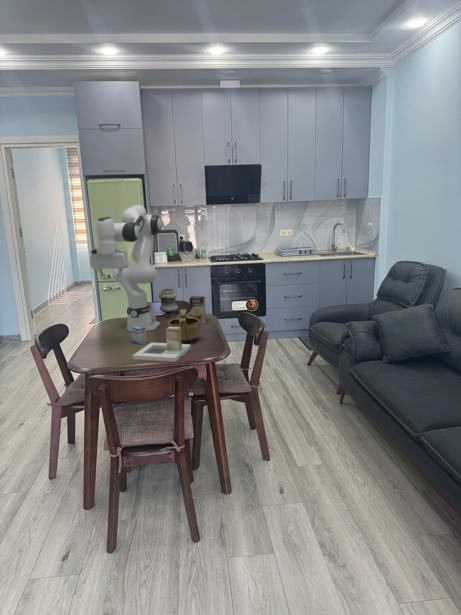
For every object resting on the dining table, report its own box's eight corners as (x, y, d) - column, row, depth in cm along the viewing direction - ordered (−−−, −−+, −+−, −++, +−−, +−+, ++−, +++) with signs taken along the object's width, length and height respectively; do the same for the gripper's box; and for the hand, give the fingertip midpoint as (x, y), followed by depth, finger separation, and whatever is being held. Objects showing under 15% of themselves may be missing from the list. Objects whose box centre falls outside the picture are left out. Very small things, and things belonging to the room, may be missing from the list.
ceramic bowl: (170, 335, 237) (168, 309, 234) (200, 333, 238) (199, 308, 235) (168, 347, 215) (165, 319, 212) (201, 345, 216) (199, 317, 213)
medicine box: (131, 342, 228) (130, 326, 226) (138, 340, 231) (137, 325, 229) (139, 344, 223) (138, 329, 221) (146, 342, 226) (145, 327, 224)
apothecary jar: (161, 318, 276) (159, 292, 272) (159, 314, 287) (157, 288, 283) (179, 316, 278) (177, 290, 274) (177, 312, 290) (175, 287, 286)
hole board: (151, 346, 219) (151, 341, 219) (190, 348, 213) (190, 343, 213) (133, 359, 201) (132, 354, 200) (175, 361, 195) (175, 357, 194)
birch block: (170, 348, 207) (168, 326, 205) (181, 348, 206) (180, 327, 203) (167, 350, 204) (165, 329, 201) (178, 351, 202) (177, 329, 199)
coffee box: (190, 323, 260) (188, 298, 257) (192, 320, 267) (190, 296, 263) (204, 323, 259) (203, 298, 255) (206, 320, 265) (205, 296, 262)
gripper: (129, 248, 210) (132, 276, 213) (94, 249, 216) (97, 276, 219) (123, 250, 204) (125, 278, 207) (87, 250, 210) (90, 278, 213)
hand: (111, 277), depth 213 cm, fingers open, 8 cm apart
